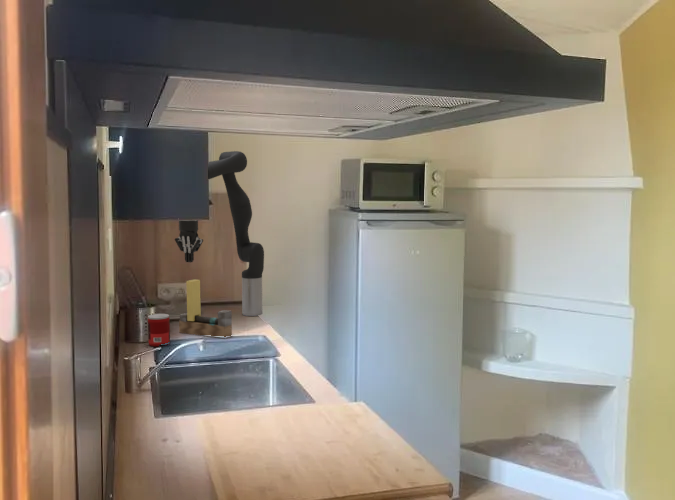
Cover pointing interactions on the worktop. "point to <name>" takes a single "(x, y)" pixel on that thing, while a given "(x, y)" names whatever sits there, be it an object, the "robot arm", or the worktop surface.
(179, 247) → the robot arm
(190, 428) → the worktop surface
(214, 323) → the wooden rack
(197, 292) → the yellow rectangular block
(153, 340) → the canned food
